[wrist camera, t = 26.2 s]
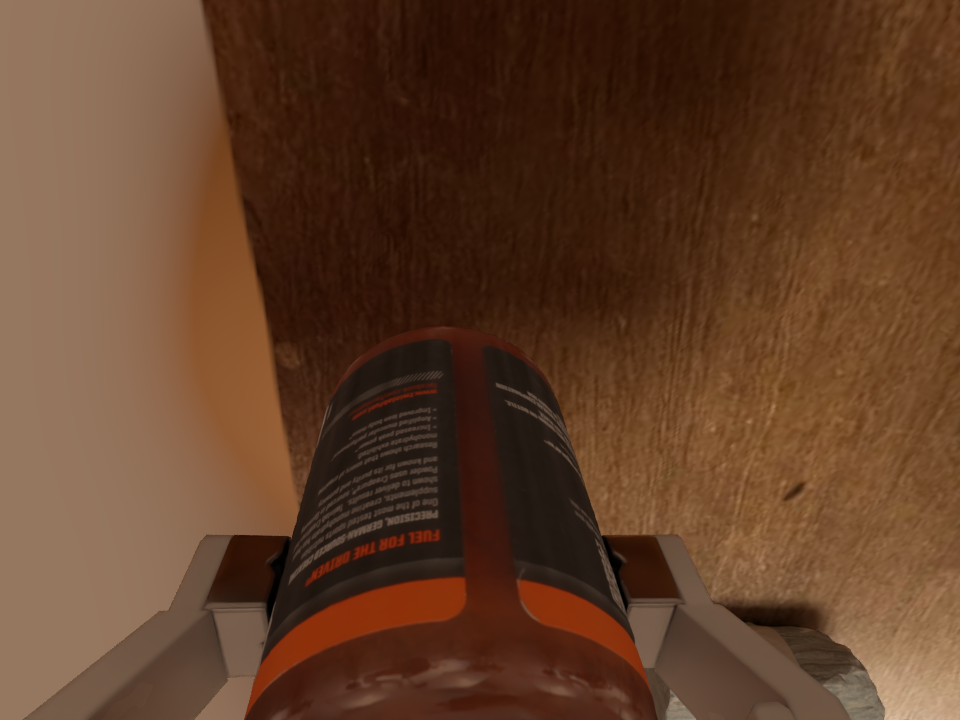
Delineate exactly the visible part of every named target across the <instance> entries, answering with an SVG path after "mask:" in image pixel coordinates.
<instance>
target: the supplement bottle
mask: <svg viewBox="0 0 960 720" xmlns="http://www.w3.org/2000/svg"><path fill="white" fill-rule="evenodd" d="M244 720H658V718H657V715H656V710H655V704H654V700H653V697H652V693H651V690H650V687H649V684H648V680H647V677H646V674H645V671H644V668H643V665H642V662H641V659H640V656H639V653H638V651H637V648H636V646H635V637H634V634H633V632H632V629H631V626H630V623H629V620H628V617H627V613H626V610H625V607H624V604H623V601H622V598H621V595H620V592H619V589H618V586H617V583H616V579H615V576H614V573H613V570H612V567H611V565H610V561H609V557H608V554H607V552H606V549H605V546H604V543H603V539H602V536H601V534H600V531H599V527H598V523H597V521H596V518H595V514H594V511H593V509H592V506H591V503H590V500H589V497H588V494H587V490H586V487H585V484H584V481H583V478H582V475H581V472H580V469H579V466H578V463H577V460H576V456H575V453H574V450H573V448H572V444H571V441H570V438H569V435H568V433H567V429H566V426H565V423H564V419H563V416H562V413H561V410H560V407H559V404H558V402H557V400H556V398H555V396H554V393H553V392H552V389H551V386H550V384H549V382H548V381H547V379H546V377H545V376H544V374H543V373H542V372H541V371H540V369H539V368H538V367H537V365H536V364H535V363H534V362H533V360H532V359H530V358H529V357H527V355H526V354H525V353H524V352H523V351H521V350H520V349H519V348H517V347H515V346H514V345H512V344H511V343H508V342H507V341H505V340H503V339H501V338H499V337H496V336H494V335H491V334H488V333H485V332H481V331H477V330H473V329H467V328H461V327H453V326H430V327H425V328H421V329H415V330H410V331H407V332H404V333H401V334H398V335H395V336H393V337H391V338H389V339H387V340H384V341H382V342H380V343H378V344H377V345H375V346H373V347H372V348H370V349H369V350H367V351H366V352H365V353H364V354H362V355H361V356H360V357H359V358H358V359H357V360H355V361H354V362H353V364H352V365H351V366H350V367H349V368H348V369H347V370H346V372H345V373H344V375H343V376H342V377H341V379H340V380H339V382H338V384H337V387H336V389H335V391H334V393H333V395H332V398H331V400H330V403H329V405H328V408H327V410H326V414H325V417H324V421H323V424H322V428H321V432H320V436H319V440H318V444H317V448H316V451H315V454H314V458H313V461H312V465H311V470H310V474H309V477H308V480H307V483H306V487H305V491H304V495H303V499H302V502H301V506H300V511H299V513H298V516H297V522H296V525H295V528H294V531H293V535H292V540H291V543H290V546H289V549H288V554H287V557H286V563H285V567H284V571H283V574H282V576H281V579H280V583H279V588H278V591H277V595H276V598H275V604H274V607H273V611H272V615H271V619H270V622H269V626H268V630H267V634H266V637H265V641H264V645H263V649H262V652H261V656H260V660H259V664H258V668H257V671H256V675H255V679H254V683H253V687H252V692H251V697H250V700H249V704H248V708H247V712H246V715H245V719H244Z"/></svg>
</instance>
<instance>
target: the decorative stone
mask: <svg viewBox="0 0 960 720" xmlns="http://www.w3.org/2000/svg"><path fill="white" fill-rule="evenodd" d="M740 620H741V619H740ZM743 622H744V621H743ZM757 623H758V622H757ZM745 624H746V625H748V626H749V627H750V628H751V629H753V630H754V631H755V632H756V633H758V634H759V635H760V636H761V637H763V638H764V639H765V640H766V641H768V642H769V643H770V644H771V645H773V646H774V647H775V648H776V649H778V650H779V651H780V652H781V653H783V654H784V655H785V656H786V657H788V658H789V659H790V660H791V661H793V662H794V663H795V664H796V665H798V666H799V667H800V668H801V669H803V670H804V671H805V672H806V673H808V674H809V675H810V676H811V677H813V678H814V679H815V680H816V681H818V682H819V683H820V684H822V685H823V686H824V687H825V688H827V689H828V690H829V691H830V692H832V693H833V694H834V695H835V696H837V697H838V698H839V699H840V701H841V703H842V704H843V706H844V708H845V709H846V711H847V713H848V714H849V716H850V718H851V719H852V720H884V717H885V708H884V706H883V704H882V702H881V700H880V698H879V697H878V695H877V689H876V686H875V685H874V683H873V682H872V680H871V679H870V677H869V675H868V672H867V670H866V669H865V667H864V666H863V665H862V663H861V662H860V661H859V660H858V659H857V658H856V657H855V656H854V655H853V654H852V652H851V650H850V649H849V648H848V647H846V646H844V645H841V644H838V643H835V642H834V641H832V640H831V638H830V637H829V636H827V635H825V634H823V633H821V632H819V631H815V630H812V629H810V628H801V627H793V626H783V627H768V626H763V625H762V626H757V625H758V624H757V625H755V624H753V623H751V622H747V623H745ZM815 628H816V627H815ZM654 670H655V668H644V671H645V674H646V677H647V680H648V684H649V687H650V690H651V693H652V697H653V700H654V704H655V710H656V715H657V718H658V720H696V718H695V717H694V716H693V715H692V714H691V713H690V711H689V710H688V709H687V708H686V707H685V706H684V704H683V703H682V702H681V701H680V700H679V699H678V698H677V696H676V695H675V694H674V693H673V692H672V691H671V689H670V688H669V687H668V686H667V685H666V684H665V683H664V681H663V680H662V679H661V678H660V677H659V676H658V674H657V673H656V672H655V671H654Z"/></svg>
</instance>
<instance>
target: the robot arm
mask: <svg viewBox="0 0 960 720" xmlns="http://www.w3.org/2000/svg"><path fill="white" fill-rule="evenodd" d="M602 539H603V543H604V546H605V549H606V552H607V554H608V557H609V561H610V565H611V567H612V570H613V573H614V576H615V579H616V583H617V586H618V589H619V592H620V595H621V598H622V601H623V604H624V607H625V610H626V613H627V617H628V620H629V623H630V626H631V629H632V632H633V634H634V637H635V646H636V648H637V651H638V653H639V656H640V659H641V662H642V665H643V668H655V670H654V671H655V672H656V673H657V674H658V676H659V677H660V678H661V679H662V680H663V681H664V683H665V684H666V685H667V686H668V687H669V688H670V689H671V691H672V692H673V693H674V694H675V695H676V696H677V698H678V699H679V700H680V701H681V702H682V703H683V704H684V706H685V707H686V708H687V709H688V710H689V711H690V713H691V714H692V715H693V716H694V717H695V718H696V720H852V719H851V718H850V716H849V714H848V713H847V711H846V709H845V708H844V706H843V704H842V703H841V701H840V699H839V698H838V697H837V696H835V695H834V694H833V693H832V692H830V691H829V690H828V689H827V688H825V687H824V686H823V685H822V684H820V683H819V682H818V681H816V680H815V679H814V678H813V677H811V676H810V675H809V674H808V673H806V672H805V671H804V670H803V669H801V668H800V667H799V666H798V665H796V664H795V663H794V662H793V661H791V660H790V659H789V658H788V657H786V656H785V655H784V654H783V653H781V652H780V651H779V650H778V649H776V648H775V647H774V646H773V645H771V644H770V643H769V642H768V641H766V640H765V639H764V638H763V637H761V636H760V635H759V634H758V633H756V632H755V631H754V630H753V629H751V628H750V627H749V626H748V625H746V624H745V623H744V622H743V621H741V620H740V619H739V618H738V617H736V616H735V615H734V614H733V613H731V612H730V611H729V610H728V609H726V608H725V607H724V606H723V605H721V604H713V602H712V600H711V598H710V596H709V594H708V592H707V590H706V588H705V585H704V583H703V581H702V579H701V577H700V575H699V573H698V571H697V569H696V567H695V565H694V563H693V561H692V559H691V557H690V555H689V553H688V550H687V548H686V546H685V544H684V542H683V540H682V538H681V537H679V536H678V535H602ZM290 543H291V537H289V536H258V535H253V536H252V535H206V536H205V537H204V538H203V540H201V542H200V543H199V545H198V548H197V550H196V552H195V554H194V556H193V559H192V561H191V563H190V565H189V567H188V569H187V571H186V574H185V576H184V578H183V580H182V582H181V585H180V587H179V589H178V591H177V593H176V595H175V597H174V600H173V602H172V604H171V606H170V608H169V610H168V611H159V612H158V613H157V614H155V615H154V616H153V617H152V618H150V619H149V620H148V621H146V622H145V623H144V624H143V625H141V626H140V627H139V628H138V629H136V630H135V631H134V632H133V633H131V634H130V635H129V636H128V637H126V638H125V639H124V640H123V641H121V642H120V643H119V644H118V645H116V646H115V647H114V648H113V649H111V650H110V651H109V652H107V653H106V654H105V655H104V656H102V657H101V658H100V659H99V660H97V661H96V662H95V663H94V664H92V665H91V666H90V667H89V668H87V669H86V670H85V671H83V672H82V673H81V674H80V675H78V676H77V677H76V678H75V679H73V680H72V681H71V682H70V683H68V684H67V685H66V686H65V687H63V688H62V689H61V690H60V691H59V692H57V693H56V694H55V695H53V696H52V697H51V698H50V699H48V700H47V701H46V702H44V703H43V704H42V705H41V706H39V707H38V708H37V709H36V710H34V711H33V712H32V713H31V714H29V715H28V716H27V717H26V718H24V719H23V720H194V719H195V718H196V717H197V716H198V714H199V713H200V712H201V711H202V710H203V709H204V708H205V707H206V705H207V704H208V703H209V702H210V701H211V700H212V698H213V697H214V696H215V695H216V694H217V693H218V692H219V690H220V689H221V688H222V687H223V686H224V685H225V683H226V682H227V678H233V677H253V676H255V675H256V671H257V668H258V664H259V660H260V656H261V652H262V649H263V645H264V641H265V637H266V634H267V630H268V626H269V622H270V619H271V615H272V611H273V607H274V604H275V598H276V595H277V591H278V588H279V583H280V579H281V576H282V574H283V571H284V567H285V563H286V557H287V554H288V549H289V546H290Z"/></svg>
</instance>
